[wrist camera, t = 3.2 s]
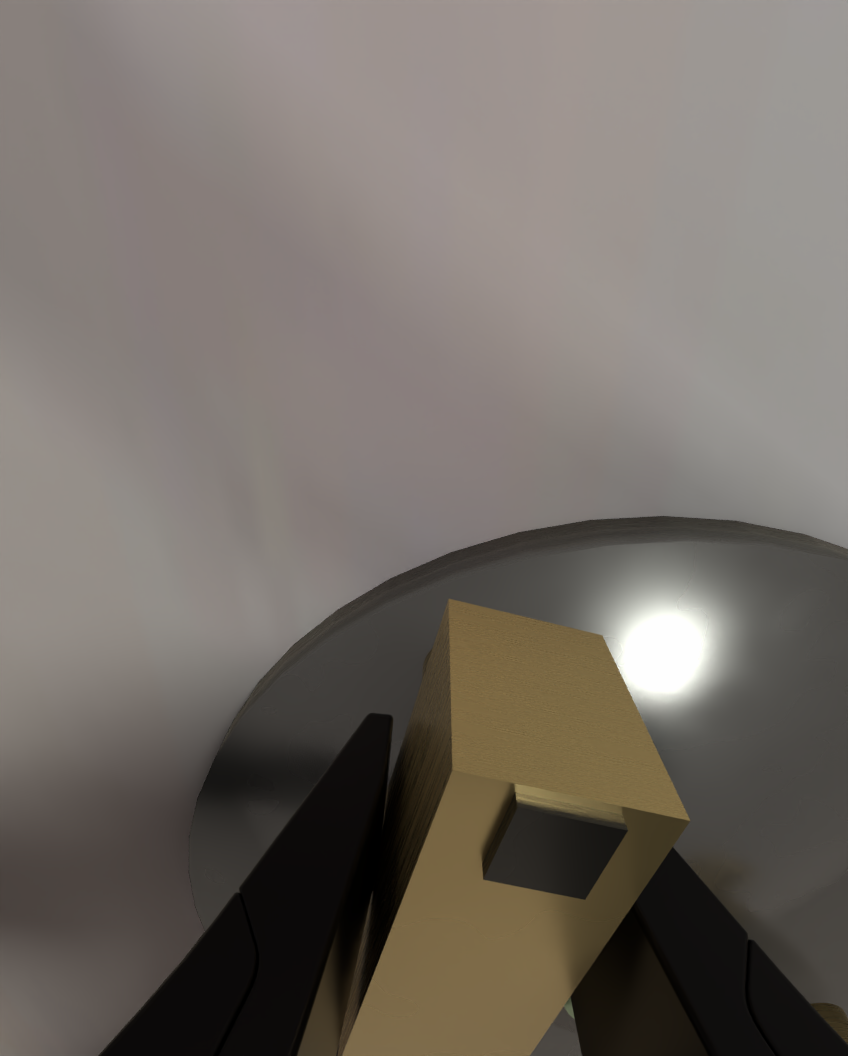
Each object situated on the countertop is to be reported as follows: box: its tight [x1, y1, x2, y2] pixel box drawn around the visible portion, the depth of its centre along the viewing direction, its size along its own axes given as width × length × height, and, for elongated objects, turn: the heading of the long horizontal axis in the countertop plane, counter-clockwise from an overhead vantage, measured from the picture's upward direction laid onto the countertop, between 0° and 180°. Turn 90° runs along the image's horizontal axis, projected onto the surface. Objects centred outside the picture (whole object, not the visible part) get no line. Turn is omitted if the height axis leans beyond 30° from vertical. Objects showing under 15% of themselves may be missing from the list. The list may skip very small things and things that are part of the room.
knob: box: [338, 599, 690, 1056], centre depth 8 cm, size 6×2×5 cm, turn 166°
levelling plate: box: [189, 516, 848, 1056], centre depth 13 cm, size 22×22×3 cm
